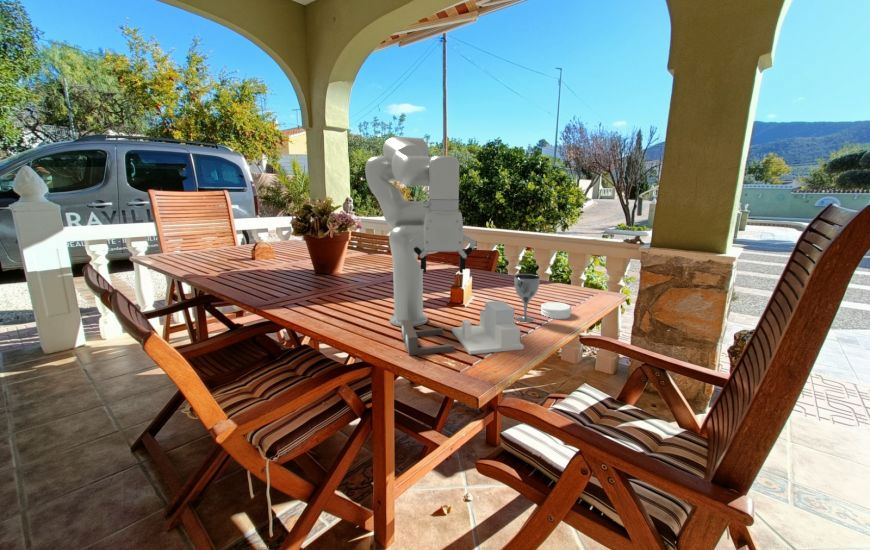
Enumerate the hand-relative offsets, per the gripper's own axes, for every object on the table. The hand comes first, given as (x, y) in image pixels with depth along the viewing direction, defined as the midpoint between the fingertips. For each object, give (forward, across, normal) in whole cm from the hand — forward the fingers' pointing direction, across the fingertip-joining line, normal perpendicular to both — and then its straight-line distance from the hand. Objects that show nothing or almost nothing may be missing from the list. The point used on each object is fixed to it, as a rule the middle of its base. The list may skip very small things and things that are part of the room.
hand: (442, 272), depth 102 cm
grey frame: (+21, -4, +2) cm, 22 cm away
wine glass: (+22, +28, +22) cm, 42 cm away
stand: (+21, +13, +5) cm, 25 cm away
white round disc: (+22, +40, +27) cm, 54 cm away
